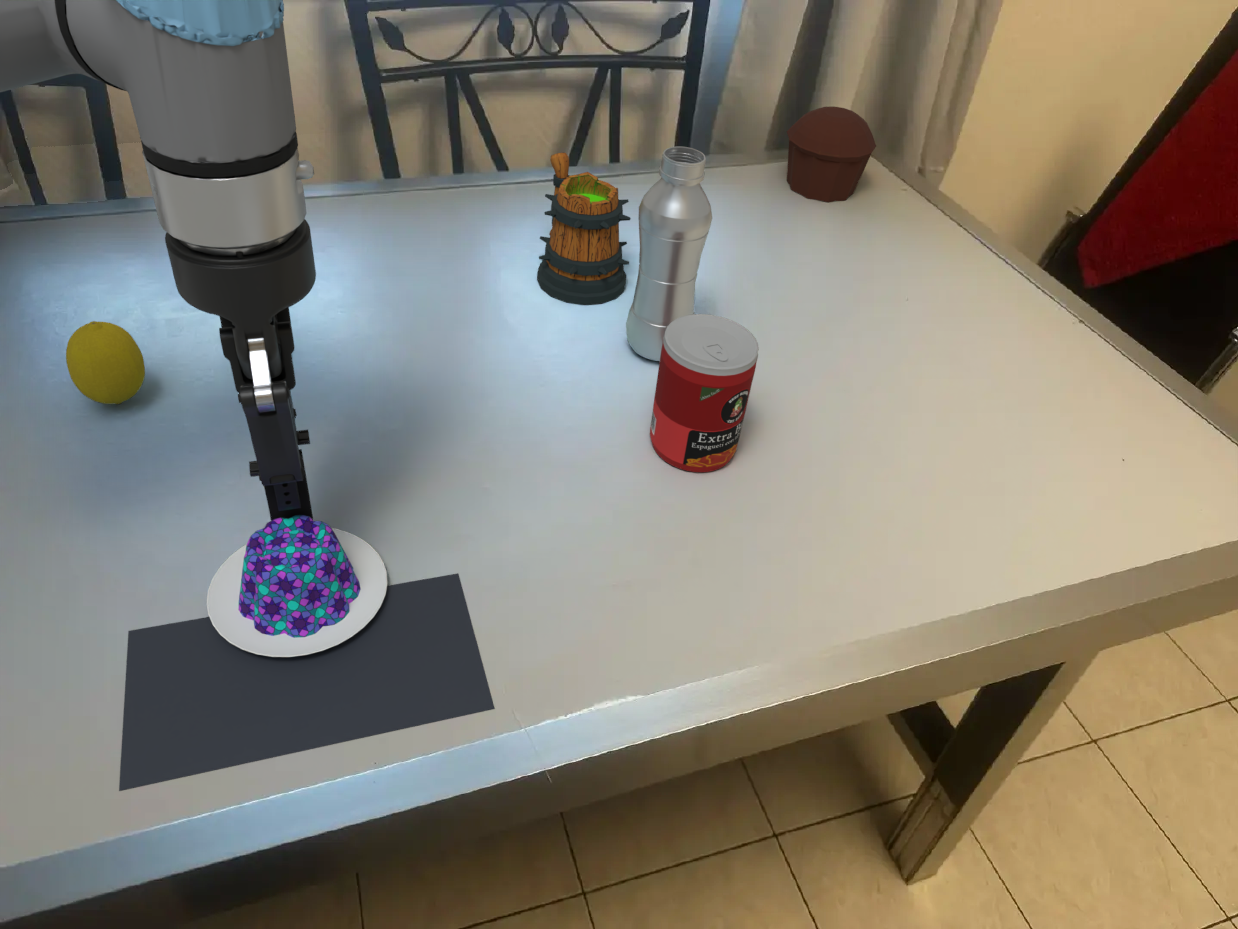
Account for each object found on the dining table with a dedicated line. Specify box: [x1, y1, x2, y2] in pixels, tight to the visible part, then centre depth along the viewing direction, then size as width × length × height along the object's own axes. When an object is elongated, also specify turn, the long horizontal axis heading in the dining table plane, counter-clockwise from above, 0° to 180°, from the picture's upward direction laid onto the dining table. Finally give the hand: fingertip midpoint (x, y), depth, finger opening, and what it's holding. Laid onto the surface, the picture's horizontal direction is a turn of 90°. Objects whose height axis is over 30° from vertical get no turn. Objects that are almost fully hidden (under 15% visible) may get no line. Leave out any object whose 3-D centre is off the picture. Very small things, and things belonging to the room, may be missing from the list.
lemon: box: [65, 320, 146, 405], centre depth 78 cm, size 6×6×8 cm
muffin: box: [786, 106, 877, 203], centre depth 123 cm, size 12×11×10 cm
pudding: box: [206, 515, 388, 657], centre depth 65 cm, size 12×12×5 cm
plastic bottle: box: [625, 146, 713, 362], centre depth 87 cm, size 6×7×20 cm
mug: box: [536, 152, 632, 306], centre depth 100 cm, size 13×10×12 cm
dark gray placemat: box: [118, 573, 496, 792], centre depth 62 cm, size 22×12×1 cm, turn 108°
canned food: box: [649, 313, 760, 473], centre depth 80 cm, size 8×8×11 cm
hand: (294, 527), depth 67 cm, fingers closed
